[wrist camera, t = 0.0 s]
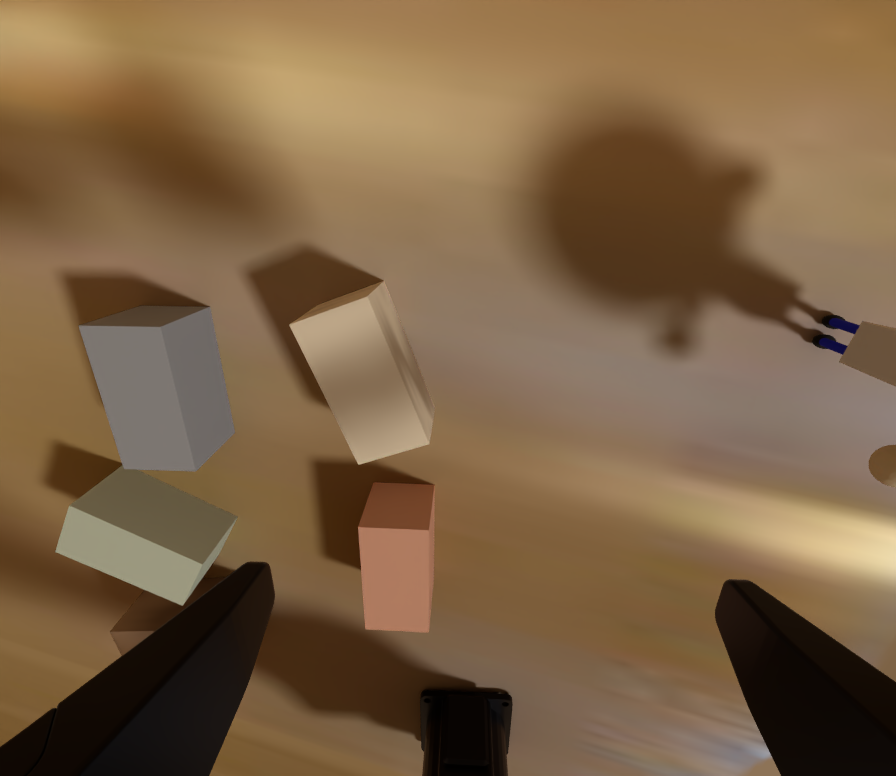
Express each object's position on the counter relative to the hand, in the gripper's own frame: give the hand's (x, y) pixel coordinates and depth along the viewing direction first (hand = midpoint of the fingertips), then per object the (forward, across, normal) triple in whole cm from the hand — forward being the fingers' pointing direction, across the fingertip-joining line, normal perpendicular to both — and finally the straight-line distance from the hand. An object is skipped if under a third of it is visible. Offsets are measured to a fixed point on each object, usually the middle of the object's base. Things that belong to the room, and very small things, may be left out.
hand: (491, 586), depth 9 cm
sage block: (+15, +18, +10) cm, 26 cm away
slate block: (+15, +15, +1) cm, 21 cm away
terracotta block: (+15, +4, +11) cm, 19 cm away
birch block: (+15, +5, 0) cm, 16 cm away
